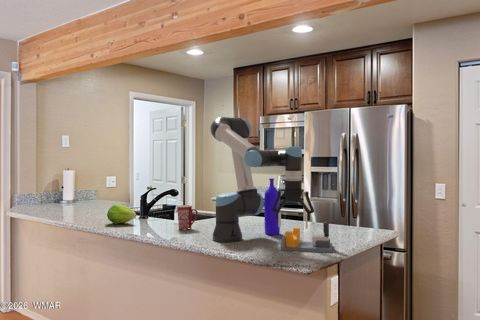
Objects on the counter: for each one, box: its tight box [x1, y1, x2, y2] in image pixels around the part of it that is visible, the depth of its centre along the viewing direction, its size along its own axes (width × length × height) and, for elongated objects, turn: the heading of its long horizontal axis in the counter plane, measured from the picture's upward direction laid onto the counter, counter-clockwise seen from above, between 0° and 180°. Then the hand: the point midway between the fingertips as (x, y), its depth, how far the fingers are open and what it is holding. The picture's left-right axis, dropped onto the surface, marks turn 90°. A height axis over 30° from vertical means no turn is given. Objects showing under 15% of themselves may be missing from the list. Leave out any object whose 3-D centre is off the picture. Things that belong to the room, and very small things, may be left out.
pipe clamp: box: [284, 227, 301, 247], centre depth 179 cm, size 12×4×6 cm, turn 152°
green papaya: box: [106, 204, 137, 225], centre depth 249 cm, size 14×20×12 cm
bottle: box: [263, 177, 281, 236], centre depth 211 cm, size 8×8×30 cm
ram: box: [311, 221, 330, 246], centre depth 176 cm, size 7×5×10 cm, turn 76°
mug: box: [176, 204, 199, 230], centre depth 228 cm, size 13×9×14 cm
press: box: [280, 233, 333, 254], centre depth 177 cm, size 22×13×6 cm, turn 76°
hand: (293, 227), depth 179 cm, fingers open, 12 cm apart
